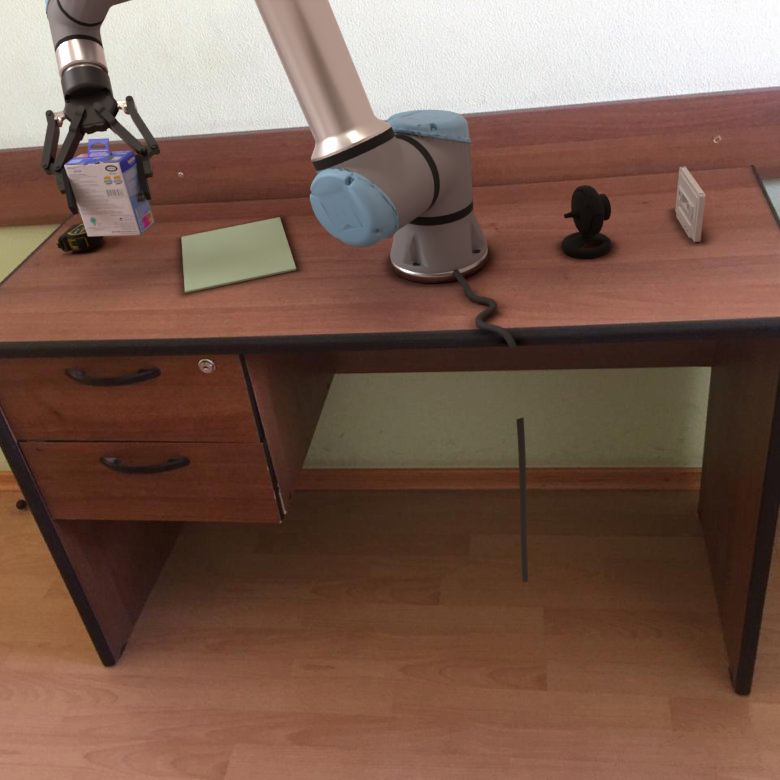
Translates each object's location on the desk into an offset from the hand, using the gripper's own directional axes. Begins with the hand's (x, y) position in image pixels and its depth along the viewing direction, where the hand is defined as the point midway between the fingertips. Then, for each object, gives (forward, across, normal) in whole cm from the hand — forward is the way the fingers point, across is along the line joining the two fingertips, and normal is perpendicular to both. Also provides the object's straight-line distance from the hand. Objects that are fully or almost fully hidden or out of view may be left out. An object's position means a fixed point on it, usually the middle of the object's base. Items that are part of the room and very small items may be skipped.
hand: (110, 203), depth 130 cm
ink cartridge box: (+2, 0, -6) cm, 7 cm away
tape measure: (-4, +10, -23) cm, 26 cm away
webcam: (+25, -70, +5) cm, 74 cm away
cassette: (+25, -87, +5) cm, 90 cm away
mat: (+8, -17, -12) cm, 22 cm away
